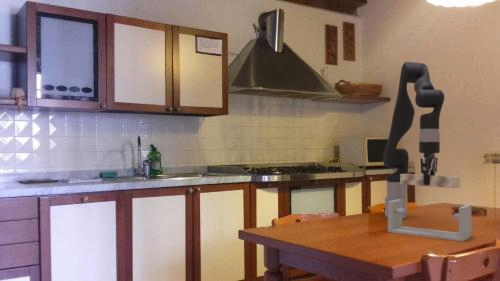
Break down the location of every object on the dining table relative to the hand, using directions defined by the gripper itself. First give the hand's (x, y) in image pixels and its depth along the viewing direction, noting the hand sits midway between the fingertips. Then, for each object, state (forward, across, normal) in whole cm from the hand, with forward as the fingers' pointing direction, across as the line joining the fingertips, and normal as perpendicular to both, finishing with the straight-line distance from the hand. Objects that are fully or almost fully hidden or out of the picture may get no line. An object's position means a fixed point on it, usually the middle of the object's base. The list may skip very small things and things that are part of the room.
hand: (429, 184), depth 182 cm
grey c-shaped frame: (+19, 0, 0) cm, 19 cm away
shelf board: (+1, 0, 0) cm, 1 cm away
